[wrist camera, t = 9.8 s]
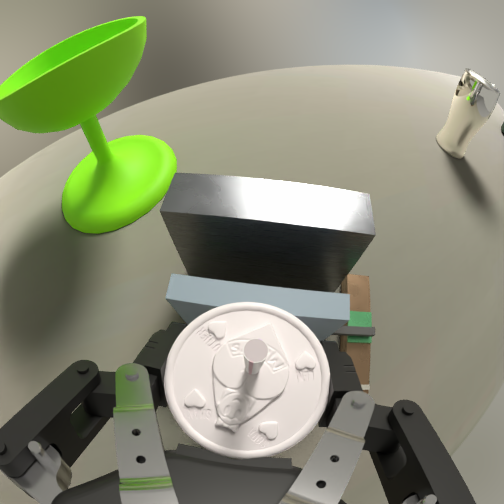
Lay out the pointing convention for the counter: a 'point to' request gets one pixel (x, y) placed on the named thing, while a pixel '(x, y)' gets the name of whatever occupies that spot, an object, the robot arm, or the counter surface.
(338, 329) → the gauge paddle
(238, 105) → the counter surface
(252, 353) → the smoothie
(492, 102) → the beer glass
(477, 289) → the counter surface
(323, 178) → the counter surface
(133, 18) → the wineglass
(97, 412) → the robot arm
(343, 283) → the gauge frame
